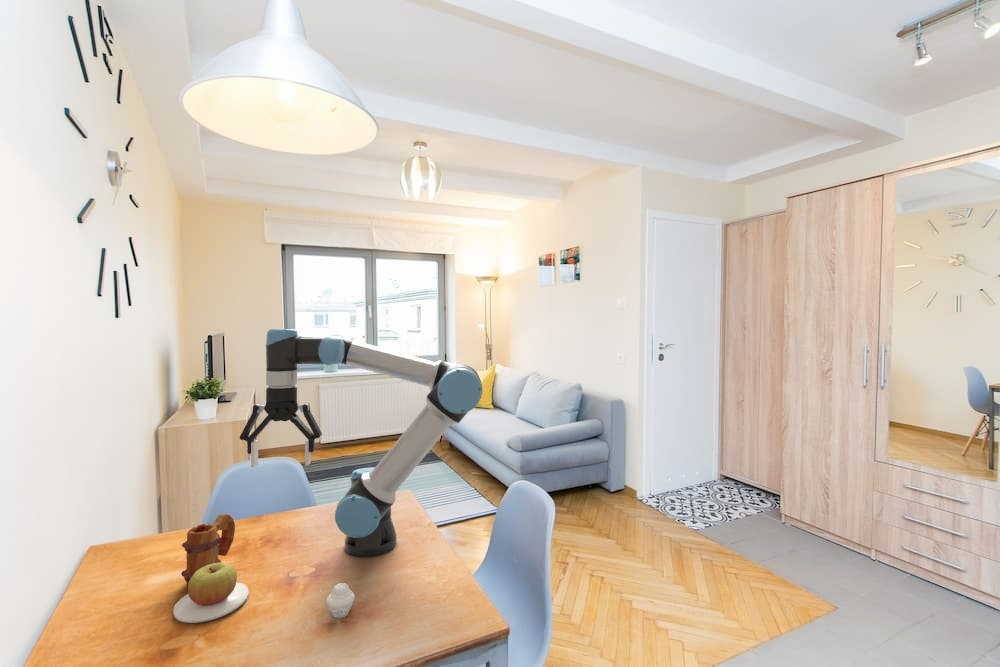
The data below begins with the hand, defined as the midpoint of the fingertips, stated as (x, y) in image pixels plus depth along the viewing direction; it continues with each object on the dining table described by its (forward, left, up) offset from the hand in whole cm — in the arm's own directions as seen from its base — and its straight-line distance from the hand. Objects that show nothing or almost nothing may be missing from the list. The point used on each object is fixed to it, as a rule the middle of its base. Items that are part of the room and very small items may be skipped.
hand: (281, 464), depth 123 cm
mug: (+17, +1, -29) cm, 34 cm away
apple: (+11, +14, -28) cm, 33 cm away
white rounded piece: (-20, +21, -29) cm, 41 cm away
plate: (+11, +14, -29) cm, 34 cm away
